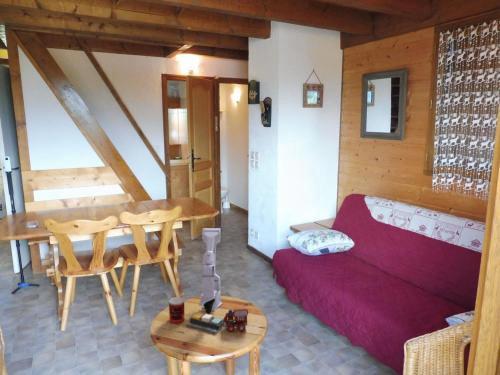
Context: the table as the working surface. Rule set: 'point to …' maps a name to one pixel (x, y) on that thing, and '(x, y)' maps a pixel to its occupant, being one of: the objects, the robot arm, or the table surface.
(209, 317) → the cream button
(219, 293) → the robot arm
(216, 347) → the table surface
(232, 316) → the toy fire truck
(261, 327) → the table surface
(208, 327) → the button panel
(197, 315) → the amber button
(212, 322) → the teal button
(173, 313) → the canned food
